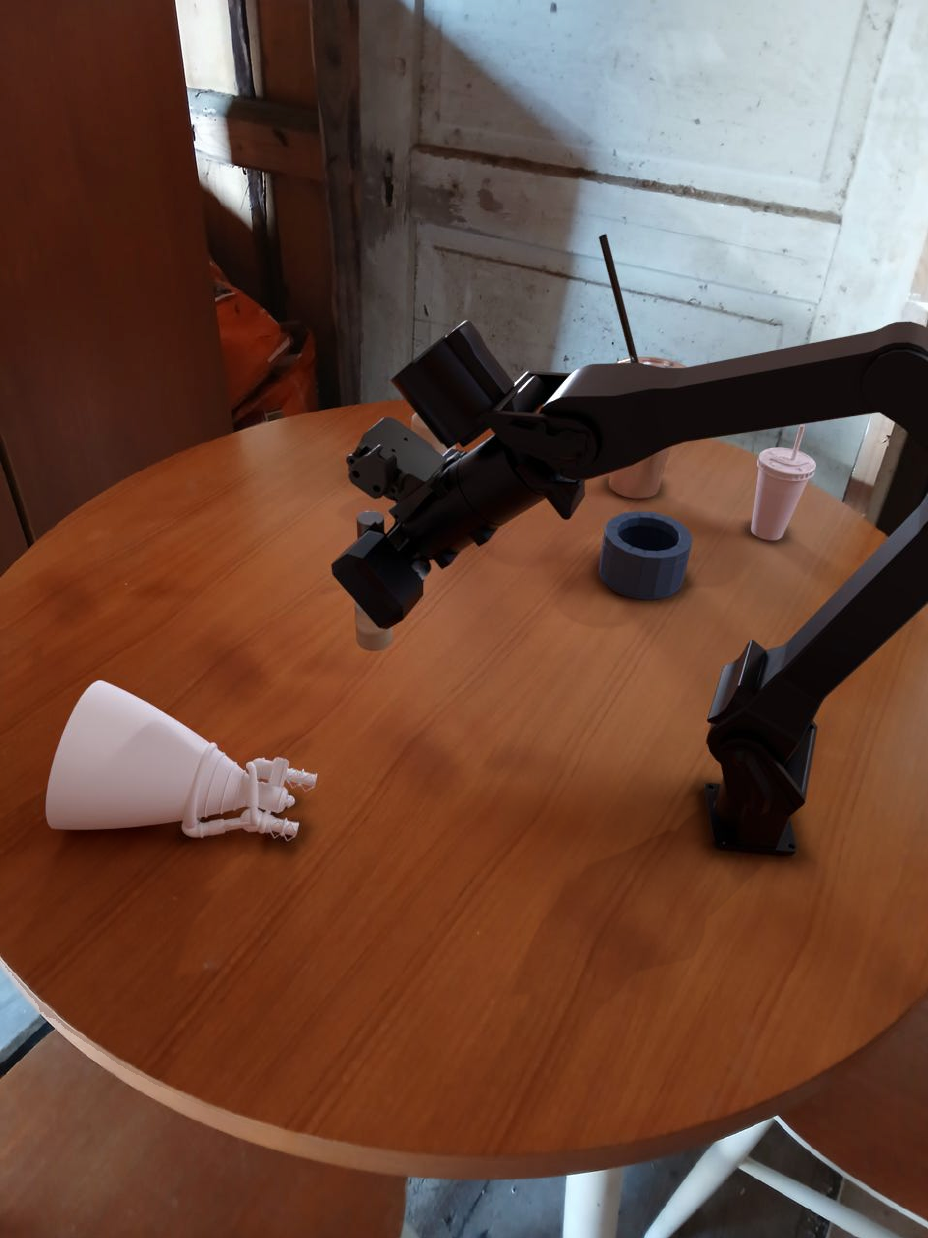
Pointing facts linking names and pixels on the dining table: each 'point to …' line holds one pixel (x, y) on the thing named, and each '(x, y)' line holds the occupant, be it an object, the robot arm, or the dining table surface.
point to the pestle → (365, 627)
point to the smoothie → (779, 488)
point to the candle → (427, 434)
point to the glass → (648, 472)
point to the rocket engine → (157, 773)
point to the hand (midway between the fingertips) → (358, 574)
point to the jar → (644, 555)
